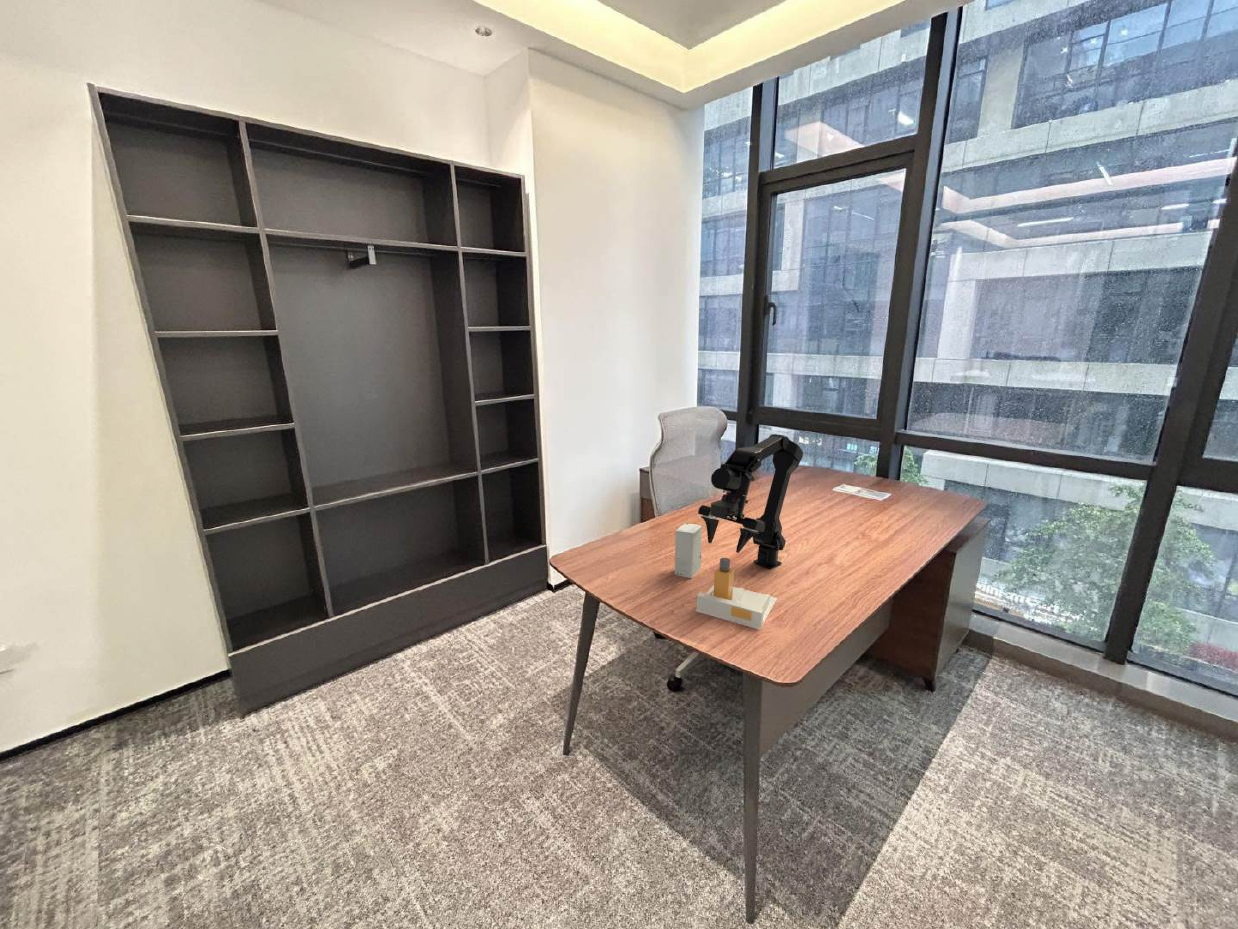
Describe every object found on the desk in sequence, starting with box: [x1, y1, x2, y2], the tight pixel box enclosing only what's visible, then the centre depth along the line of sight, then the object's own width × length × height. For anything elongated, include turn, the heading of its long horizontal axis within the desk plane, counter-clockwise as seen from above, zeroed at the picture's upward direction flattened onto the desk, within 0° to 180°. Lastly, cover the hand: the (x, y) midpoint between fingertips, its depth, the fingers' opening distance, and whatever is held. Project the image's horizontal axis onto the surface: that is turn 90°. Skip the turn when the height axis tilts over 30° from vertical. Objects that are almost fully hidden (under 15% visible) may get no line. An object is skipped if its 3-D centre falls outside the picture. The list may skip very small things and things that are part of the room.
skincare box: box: [674, 522, 703, 579], centre depth 153 cm, size 8×6×15 cm
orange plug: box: [713, 557, 735, 600], centre depth 133 cm, size 4×4×13 cm
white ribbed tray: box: [695, 584, 778, 630], centre depth 135 cm, size 18×17×5 cm
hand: (723, 547), depth 140 cm, fingers open, 9 cm apart
